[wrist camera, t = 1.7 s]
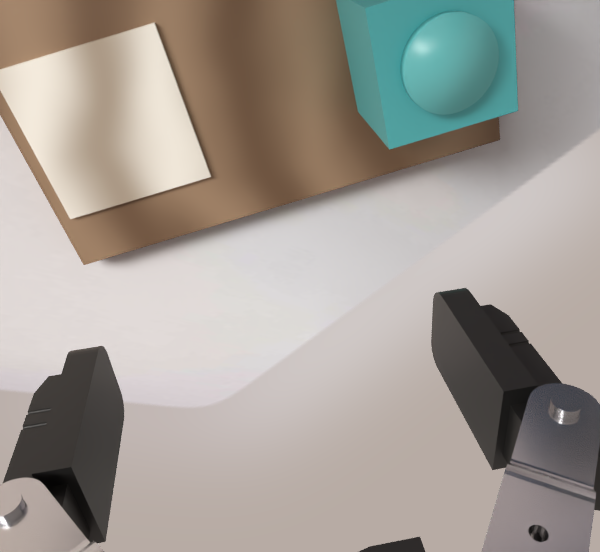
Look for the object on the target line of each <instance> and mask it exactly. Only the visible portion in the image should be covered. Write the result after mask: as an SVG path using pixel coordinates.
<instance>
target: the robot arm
mask: <svg viewBox="0 0 600 552" xmlns="http://www.w3.org/2000/svg"><path fill="white" fill-rule="evenodd" d="M431 343H432V352H433V357H434V360H435V363H436V365H437V368H438V369H439V371H440V373H441V375H442V377H443V379H444V381H445V382H446V384H447V386H448V388H449V390H450V392H451V394H452V395H453V397H454V399H455V401H456V403H457V405H458V406H459V408H460V410H461V412H462V414H463V416H464V418H465V420H466V421H467V423H468V425H469V427H470V429H471V431H472V433H473V434H474V436H475V438H476V440H477V442H478V444H479V446H480V448H481V449H482V451H483V453H484V455H485V457H486V459H487V460H488V462H489V464H490V466H491V468H492V470H495V469H500V468H506V469H505V473H504V476H503V480H502V483H501V486H500V490H499V493H498V497H497V500H496V504H495V507H494V510H493V514H492V517H491V521H490V524H489V528H488V532H487V535H486V538H485V541H484V545H483V548H482V552H589V544H590V537H591V530H592V522H593V515H594V510H600V404H599V403H598V402H597V400H596V399H595V398H593V396H591V395H590V394H589V393H587V392H585V391H584V390H582V389H579V388H577V387H574V386H571V385H567V384H562V383H561V381H560V380H559V379H558V378H557V376H556V375H555V374H554V372H553V371H552V370H551V369H550V367H549V366H548V365H547V364H546V362H545V361H544V360H543V359H542V357H541V356H540V355H539V354H538V352H537V351H536V350H535V349H534V347H533V346H532V345H531V344H529V343H528V340H527V339H526V337H525V336H524V335H523V333H522V332H520V331H519V328H518V327H517V326H516V325H515V323H514V322H513V321H512V320H511V318H510V317H509V316H508V315H507V314H505V313H504V312H502V311H500V310H499V309H497V308H495V307H494V306H492V305H485V306H480V305H479V303H478V302H477V301H476V299H475V298H474V297H473V295H472V294H471V293H470V291H469V290H468V289H466V288H462V289H457V290H450V291H444V292H438V293H435V295H434V299H433V317H432V340H431ZM123 421H124V405H123V399H122V394H121V391H120V388H119V385H118V383H117V380H116V377H115V374H114V371H113V368H112V366H111V363H110V360H109V357H108V354H107V352H106V350H105V348H104V347H103V346H99V347H93V348H86V349H80V350H74V351H70V352H69V353H68V355H67V358H66V361H65V364H64V368H63V371H62V374H61V375H55V376H49V377H48V378H47V379H46V380H45V381H44V383H43V384H42V385H41V386H40V387H39V388H38V390H37V391H36V392H35V393H34V395H33V398H32V401H31V404H30V407H29V410H28V415H26V418H25V421H24V424H23V430H21V433H20V435H19V438H18V441H17V444H16V447H15V450H14V453H13V456H12V458H11V461H10V464H9V467H8V470H7V473H6V475H5V478H4V482H3V484H1V485H0V552H104V551H103V550H102V549H101V548H100V546H99V545H98V544H97V543H101V542H105V541H106V534H107V528H108V521H109V515H110V508H111V501H112V495H113V488H114V481H115V475H116V468H117V461H118V455H119V448H120V441H121V435H122V428H123ZM360 552H425V550H424V547H423V544H422V541H421V538H420V537H416V538H411V539H406V540H401V541H396V542H391V543H386V544H381V545H376V546H371V547H368V548H366V549H364V550H361V551H360Z"/></svg>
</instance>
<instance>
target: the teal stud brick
mask: <svg viewBox="0 0 600 552" xmlns="http://www.w3.org/2000/svg"><path fill="white" fill-rule="evenodd" d="M336 3H337V8H338V13H339V18H340V23H341V28H342V33H343V39H344V44H345V49H346V54H347V59H348V64H349V69H350V74H351V79H352V84H353V89H354V94H355V99H356V104H357V109H358V112H359V114H360V115H361V116H362V117H363V118H364V120H365V121H366V122H367V123H368V124H369V126H370V127H371V128H372V129H373V130H374V132H375V133H376V134H377V135H378V136H379V138H380V139H381V140H382V141H383V142H384V144H385V145H386V146H387V147H388V148H389V150H390V149H393V148H396V147H400V146H403V145H406V144H410V143H413V142H416V141H420V140H423V139H426V138H430V137H433V136H436V135H439V134H443V133H446V132H449V131H453V130H456V129H459V128H463V127H466V126H469V125H473V124H476V123H479V122H483V121H486V120H489V119H493V118H496V117H499V116H503V115H506V114H509V113H512V112H516V111H518V97H517V71H516V44H515V18H514V0H336Z"/></svg>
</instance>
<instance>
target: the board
mask: <svg viewBox="0 0 600 552" xmlns="http://www.w3.org/2000/svg"><path fill="white" fill-rule="evenodd" d="M0 115H1V117H2V119H3V121H4V122H5V124H6V126H7V128H8V130H9V131H10V133H11V135H12V137H13V139H14V140H15V142H16V144H17V146H18V148H19V149H20V151H21V153H22V155H23V157H24V158H25V160H26V162H27V164H28V165H29V167H30V169H31V171H32V173H33V174H34V176H35V178H36V180H37V182H38V183H39V185H40V187H41V189H42V191H43V192H44V194H45V196H46V198H47V200H48V201H49V203H50V205H51V207H52V209H53V210H54V212H55V214H56V216H57V218H58V219H59V221H60V223H61V225H62V227H63V228H64V230H65V232H66V234H67V236H68V237H69V239H70V241H71V243H72V245H73V246H74V248H75V250H76V252H77V254H78V255H79V257H80V259H81V261H82V263H83V264H84V265H86V264H89V263H92V262H96V261H99V260H102V259H106V258H109V257H112V256H115V255H119V254H122V253H125V252H129V251H132V250H135V249H139V248H142V247H145V246H149V245H152V244H155V243H159V242H162V241H165V240H169V239H172V238H175V237H179V236H182V235H185V234H189V233H192V232H195V231H199V230H202V229H205V228H209V227H212V226H215V225H218V224H222V223H225V222H228V221H232V220H235V219H238V218H242V217H245V216H248V215H252V214H255V213H258V212H262V211H265V210H268V209H272V208H275V207H278V206H282V205H285V204H288V203H292V202H295V201H298V200H302V199H305V198H308V197H312V196H315V195H318V194H321V193H325V192H328V191H331V190H335V189H338V188H341V187H345V186H348V185H351V184H355V183H358V182H361V181H365V180H368V179H371V178H375V177H378V176H381V175H385V174H388V173H391V172H395V171H398V170H401V169H405V168H408V167H411V166H415V165H418V164H421V163H424V162H428V161H431V160H434V159H438V158H441V157H444V156H448V155H451V154H454V153H458V152H461V151H464V150H468V149H471V148H474V147H478V146H481V145H484V144H488V143H491V142H494V141H498V140H500V134H499V117H496V118H493V119H489V120H486V121H483V122H479V123H476V124H473V125H469V126H466V127H463V128H459V129H456V130H453V131H449V132H446V133H443V134H439V135H436V136H433V137H430V138H426V139H423V140H420V141H416V142H413V143H410V144H406V145H403V146H400V147H396V148H393V149H390V150H389V148H388V147H387V146H386V145H385V144H384V142H383V141H382V140H381V139H380V138H379V136H378V135H377V134H376V133H375V132H374V130H373V129H372V128H371V127H370V126H369V124H368V123H367V122H366V121H365V120H364V118H363V117H362V116H361V115H360V114H359V112H358V109H357V104H356V99H355V94H354V89H353V84H352V79H351V74H350V69H349V64H348V59H347V54H346V49H345V44H344V39H343V33H342V28H341V23H340V18H339V13H338V8H337V3H336V0H0Z"/></svg>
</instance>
